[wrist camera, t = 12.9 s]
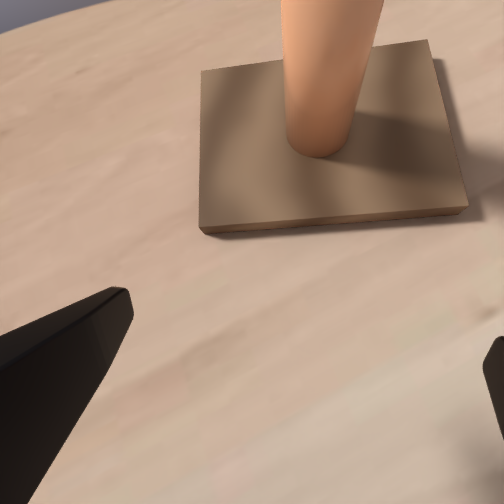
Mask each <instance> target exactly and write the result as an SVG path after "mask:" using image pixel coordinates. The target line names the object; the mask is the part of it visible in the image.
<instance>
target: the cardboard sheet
mask: <svg viewBox="0 0 504 504" xmlns="http://www.w3.org/2000/svg"><path fill="white" fill-rule="evenodd" d="M468 206H469V203H468V199H467V195H466V191H465V187H464V183H463V179H462V175H461V171H460V167H459V163H458V159H457V155H456V151H455V147H454V143H453V139H452V135H451V131H450V127H449V123H448V119H447V115H446V111H445V107H444V103H443V99H442V95H441V91H440V87H439V83H438V79H437V75H436V71H435V67H434V64H433V60H432V56H431V52H430V48H429V44H428V40H427V39H426V40H419V41H412V42H405V43H398V44H391V45H383V46H376V47H372V49H371V52H370V56H369V60H368V64H367V68H366V71H365V75H364V79H363V83H362V87H361V90H360V94H359V98H358V102H357V106H356V109H355V113H354V117H353V121H352V125H351V128H350V132H349V136H348V139H347V141H346V143H345V144H344V146H343V147H342V148H341V149H340V150H338V151H337V152H335V153H334V154H332V155H329V156H326V157H320V158H313V157H307V156H304V155H302V154H300V153H298V152H297V151H295V150H294V149H293V148H292V147H291V146H290V144H289V142H288V140H287V136H286V116H285V91H284V67H283V60H276V61H269V62H262V63H255V64H248V65H241V66H234V67H226V68H219V69H212V70H205V71H201V109H200V173H199V228H200V229H201V231H202V232H203V233H204V234H212V233H225V232H238V231H251V230H264V229H277V228H290V227H303V226H316V225H329V224H342V223H355V222H368V221H381V220H394V219H406V218H419V217H432V216H445V215H457V214H459V213H460V212H461V211H463V210H464V209H465V208H467V207H468Z"/></svg>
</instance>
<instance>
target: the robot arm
mask: <svg viewBox="0 0 504 504" xmlns="http://www.w3.org/2000/svg"><path fill="white" fill-rule="evenodd" d="M133 316H134V311H133V306H132V302H131V298H130V294H129V291H128V290H127V289H126V288H122V287H109V288H107V289H105V290H103V291H100V292H98V293H96V294H94V295H91V296H89V297H87V298H85V299H82V300H80V301H78V302H75V303H73V304H71V305H69V306H66V307H64V308H62V309H60V310H57V311H55V312H53V313H51V314H48V315H46V316H44V317H42V318H39V319H37V320H35V321H33V322H30V323H28V324H26V325H24V326H21V327H19V328H17V329H15V330H12V331H10V332H8V333H6V334H3V335H1V336H0V504H28V502H29V501H30V499H31V497H32V496H33V494H34V492H35V491H36V489H37V487H38V486H39V484H40V482H41V481H42V479H43V477H44V476H45V474H46V473H47V471H48V469H49V468H50V466H51V464H52V463H53V461H54V459H55V458H56V456H57V454H58V453H59V451H60V449H61V448H62V446H63V445H64V443H65V441H66V440H67V438H68V436H69V435H70V433H71V431H72V430H73V428H74V426H75V425H76V423H77V421H78V420H79V418H80V416H81V415H82V413H83V412H84V410H85V408H86V407H87V405H88V403H89V402H90V400H91V398H92V397H93V395H94V393H95V392H96V390H97V388H98V387H99V385H100V384H101V382H102V380H103V379H104V377H105V375H106V373H107V372H108V370H109V368H110V366H111V364H112V362H113V360H114V358H115V356H116V354H117V352H118V350H119V348H120V345H121V343H122V341H123V339H124V337H125V335H126V333H127V331H128V329H129V327H130V324H131V322H132V320H133ZM483 373H484V376H485V380H486V383H487V386H488V390H489V393H490V397H491V400H492V403H493V407H494V410H495V414H496V417H497V420H498V424H499V427H500V430H501V433H502V436H503V439H504V336H500V337H497V338H496V339H495V340H494V342H493V344H492V346H491V348H490V350H489V352H488V353H487V355H486V357H485V359H484V361H483Z"/></svg>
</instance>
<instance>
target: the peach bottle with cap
mask: <svg viewBox="0 0 504 504" xmlns="http://www.w3.org/2000/svg"><path fill="white" fill-rule="evenodd" d="M383 3H384V0H281V17H282V42H283V67H284V91H285V116H286V136H287V140H288V142H289V144H290V146H291V147H292V148H293V149H294V150H295V151H297V152H298V153H300V154H302V155H304V156H307V157H313V158H320V157H326V156H329V155H332V154H334V153H335V152H337V151H338V150H340V149H341V148H342V147H343V146H344V144H345V143H346V141H347V139H348V136H349V132H350V128H351V125H352V121H353V117H354V113H355V109H356V106H357V102H358V98H359V94H360V90H361V87H362V83H363V79H364V75H365V71H366V68H367V64H368V60H369V56H370V52H371V49H372V45H373V41H374V37H375V33H376V30H377V26H378V22H379V18H380V14H381V11H382V7H383Z"/></svg>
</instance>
